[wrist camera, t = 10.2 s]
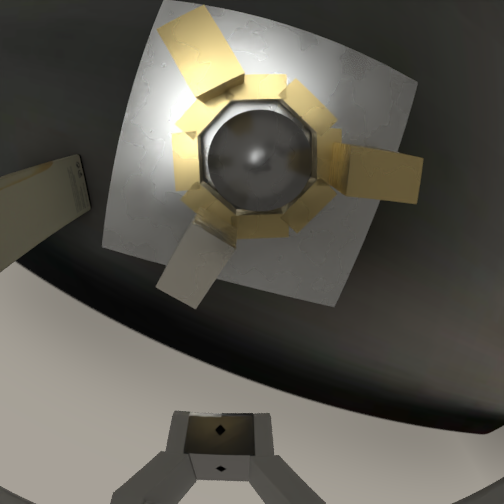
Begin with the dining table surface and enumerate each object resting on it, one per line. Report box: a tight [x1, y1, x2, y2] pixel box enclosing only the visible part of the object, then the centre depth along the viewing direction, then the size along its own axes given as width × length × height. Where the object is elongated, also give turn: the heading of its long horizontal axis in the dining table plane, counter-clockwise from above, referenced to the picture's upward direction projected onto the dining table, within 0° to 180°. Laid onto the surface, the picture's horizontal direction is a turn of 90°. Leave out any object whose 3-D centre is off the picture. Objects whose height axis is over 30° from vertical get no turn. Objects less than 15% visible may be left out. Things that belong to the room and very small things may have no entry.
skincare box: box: [0, 155, 91, 272], centre depth 14 cm, size 6×4×12 cm
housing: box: [102, 0, 418, 307], centre depth 17 cm, size 17×17×5 cm
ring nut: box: [156, 5, 423, 309], centre depth 15 cm, size 14×15×4 cm
